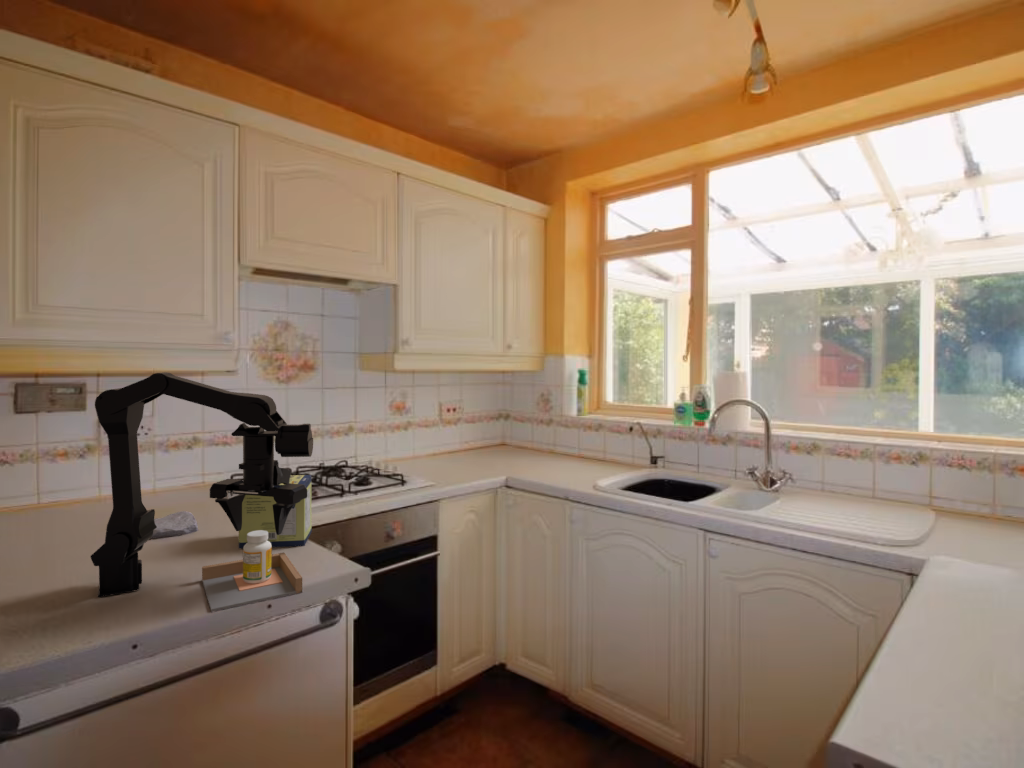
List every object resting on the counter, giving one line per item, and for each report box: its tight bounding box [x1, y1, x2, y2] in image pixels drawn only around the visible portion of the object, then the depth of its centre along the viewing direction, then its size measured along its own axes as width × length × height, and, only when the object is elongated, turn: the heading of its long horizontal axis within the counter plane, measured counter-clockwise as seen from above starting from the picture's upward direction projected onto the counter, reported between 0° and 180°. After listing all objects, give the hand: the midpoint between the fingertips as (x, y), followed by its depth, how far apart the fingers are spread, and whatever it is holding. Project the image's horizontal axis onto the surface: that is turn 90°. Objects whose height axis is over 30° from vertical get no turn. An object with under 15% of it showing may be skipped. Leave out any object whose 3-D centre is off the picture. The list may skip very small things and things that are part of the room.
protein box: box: [238, 474, 313, 549], centre depth 138 cm, size 10×16×16 cm
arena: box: [201, 552, 303, 613], centre depth 112 cm, size 16×16×3 cm
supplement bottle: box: [242, 530, 273, 584], centre depth 114 cm, size 5×5×10 cm
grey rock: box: [149, 510, 199, 540], centre depth 143 cm, size 12×5×10 cm
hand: (258, 532), depth 113 cm, fingers open, 9 cm apart
